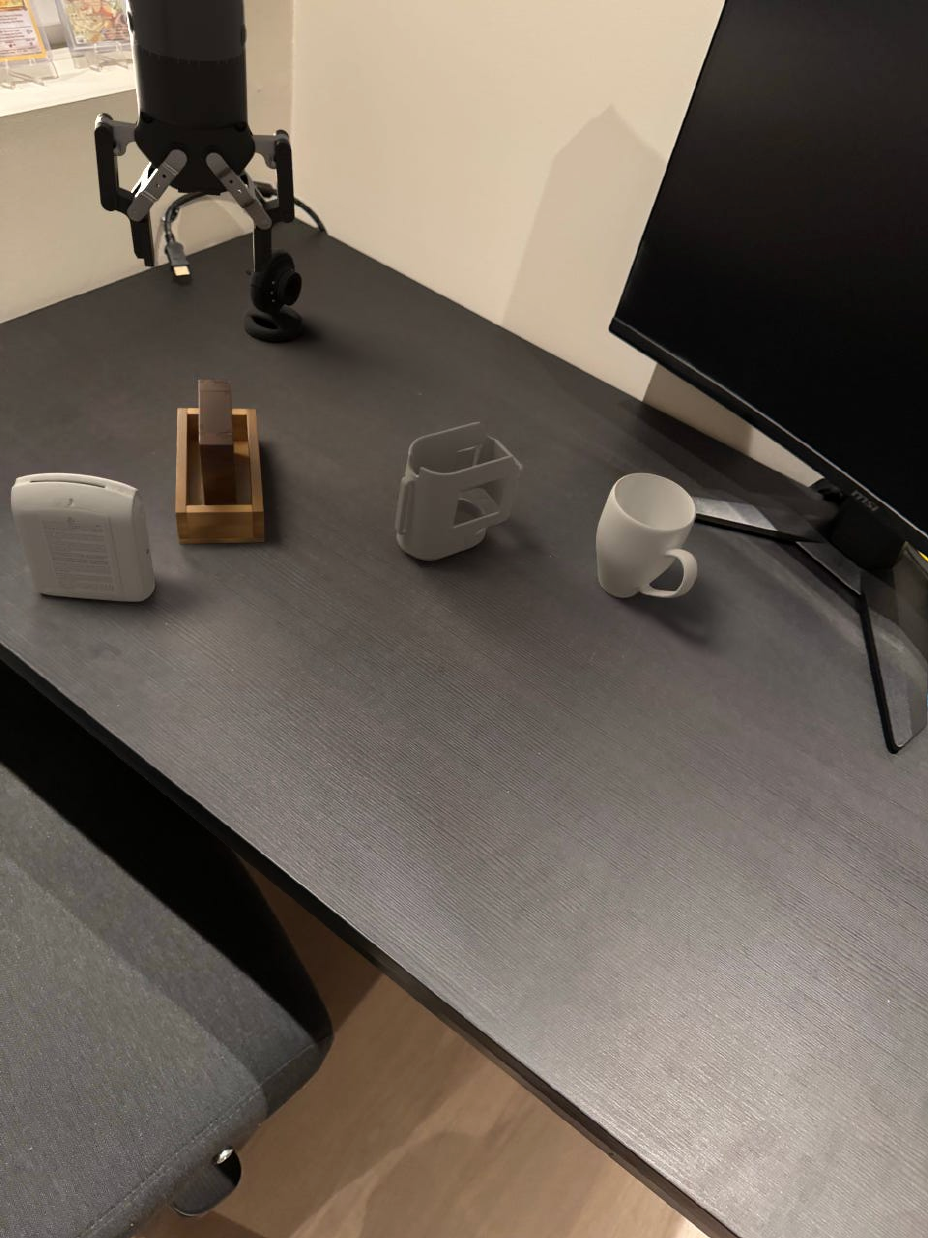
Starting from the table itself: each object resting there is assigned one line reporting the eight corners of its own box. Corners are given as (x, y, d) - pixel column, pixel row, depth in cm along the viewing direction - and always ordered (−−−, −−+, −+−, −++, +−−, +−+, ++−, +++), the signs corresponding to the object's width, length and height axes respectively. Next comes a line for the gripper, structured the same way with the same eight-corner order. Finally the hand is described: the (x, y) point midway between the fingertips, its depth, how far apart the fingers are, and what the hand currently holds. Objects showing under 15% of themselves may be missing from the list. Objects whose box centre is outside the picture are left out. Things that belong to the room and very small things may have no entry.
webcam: (280, 350, 105) (280, 273, 97) (230, 328, 106) (226, 251, 99) (314, 324, 110) (316, 249, 102) (265, 303, 111) (264, 228, 104)
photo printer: (160, 572, 78) (144, 468, 69) (151, 607, 76) (133, 503, 66) (43, 563, 77) (11, 456, 68) (29, 598, 74) (-7, 491, 65)
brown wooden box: (205, 517, 83) (198, 444, 76) (204, 452, 89) (198, 379, 83) (237, 516, 84) (233, 444, 77) (234, 452, 90) (230, 380, 83)
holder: (179, 544, 81) (175, 512, 78) (180, 439, 91) (177, 407, 88) (264, 542, 83) (263, 511, 80) (257, 439, 93) (256, 408, 90)
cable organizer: (508, 541, 89) (533, 450, 80) (407, 577, 83) (423, 484, 74) (473, 502, 92) (494, 410, 83) (374, 534, 86) (385, 439, 77)
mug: (564, 563, 88) (595, 480, 80) (628, 547, 91) (664, 464, 83) (627, 649, 82) (667, 568, 73) (693, 627, 85) (739, 547, 77)
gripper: (291, 29, 61) (290, 248, 73) (79, 3, 57) (114, 237, 70) (299, 67, 56) (296, 293, 69) (69, 40, 53) (108, 284, 65)
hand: (204, 264), depth 69 cm, fingers open, 8 cm apart
